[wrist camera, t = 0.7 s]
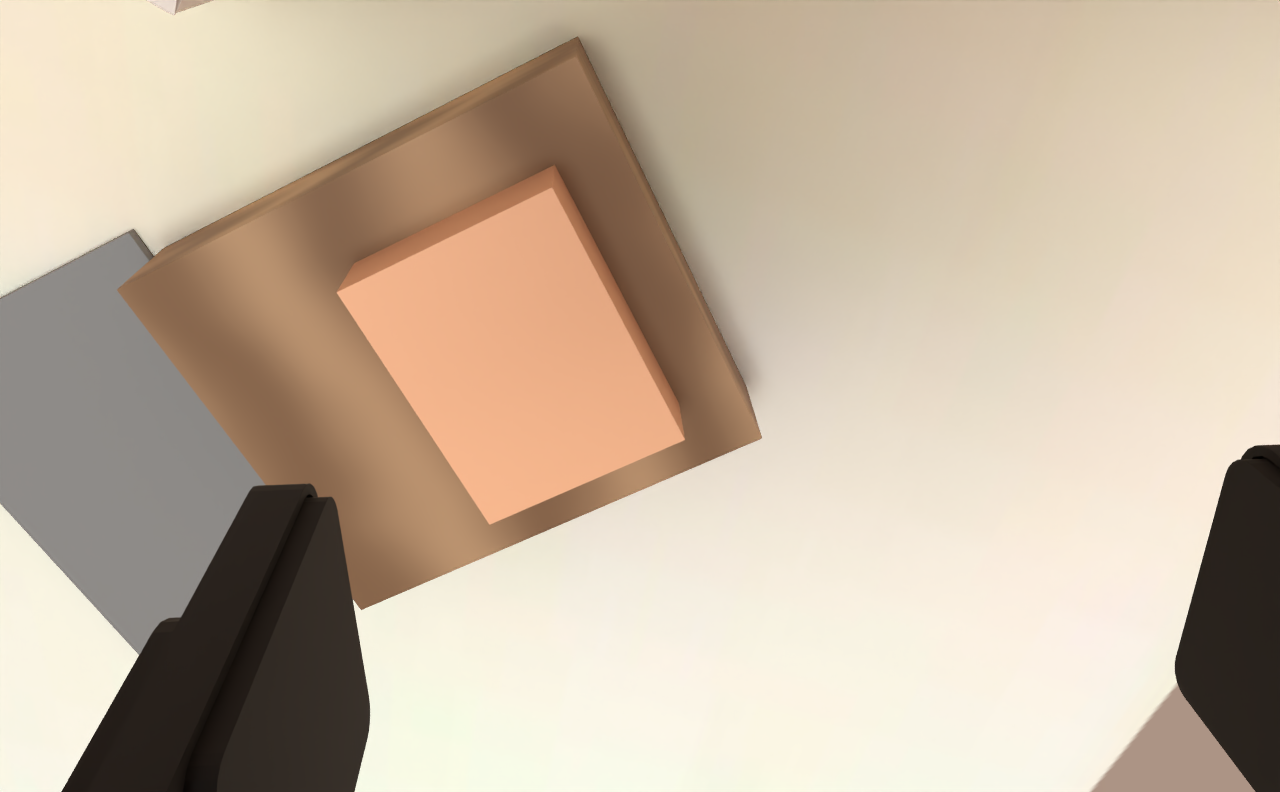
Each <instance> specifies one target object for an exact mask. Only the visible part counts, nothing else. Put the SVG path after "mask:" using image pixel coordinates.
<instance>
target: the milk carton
mask: <svg viewBox="0 0 1280 792" xmlns="http://www.w3.org/2000/svg"><path fill="white" fill-rule="evenodd" d="M147 1H149V2H150V3H152V4H154V5H155V6H157V7H159V8H161V9H162V10H164V11H166V12H168V13H170V14H172V15H175V14H176V13H177V12H180V11H183V10H186V9H189V8H192V7H195V6H198V5H201V4H204V3H207V2H210V1H213V0H147Z"/></svg>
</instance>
